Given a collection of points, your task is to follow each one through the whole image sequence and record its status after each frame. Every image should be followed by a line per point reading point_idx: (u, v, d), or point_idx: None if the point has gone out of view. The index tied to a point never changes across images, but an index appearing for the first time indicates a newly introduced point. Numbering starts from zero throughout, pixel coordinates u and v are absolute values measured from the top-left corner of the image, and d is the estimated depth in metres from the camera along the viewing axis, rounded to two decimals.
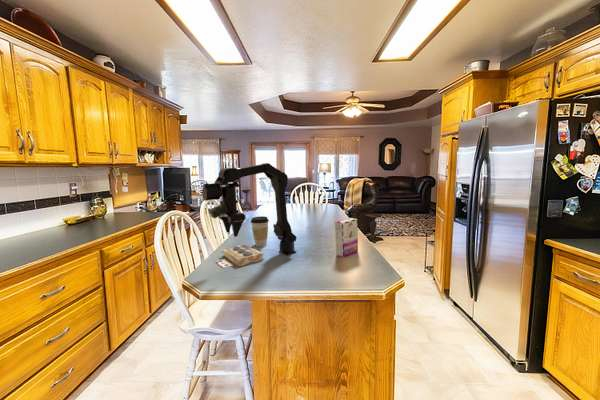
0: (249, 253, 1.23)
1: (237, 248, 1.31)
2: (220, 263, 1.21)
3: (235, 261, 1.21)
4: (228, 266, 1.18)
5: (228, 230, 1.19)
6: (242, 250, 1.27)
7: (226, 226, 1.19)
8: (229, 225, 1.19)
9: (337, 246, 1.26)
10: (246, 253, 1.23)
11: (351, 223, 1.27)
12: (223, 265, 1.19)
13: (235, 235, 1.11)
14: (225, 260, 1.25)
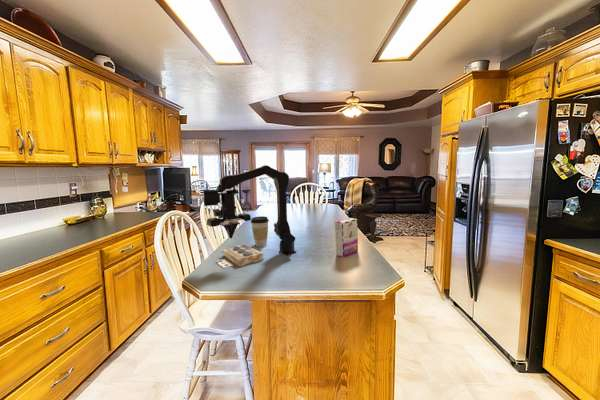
0: (249, 253, 1.23)
1: (237, 248, 1.31)
2: (220, 263, 1.21)
3: (235, 261, 1.21)
4: (228, 266, 1.18)
5: None
6: (242, 250, 1.27)
7: None
8: (231, 232, 1.22)
9: (337, 246, 1.26)
10: (246, 253, 1.23)
11: (351, 223, 1.27)
12: (223, 265, 1.19)
13: (229, 237, 1.22)
14: (225, 260, 1.25)
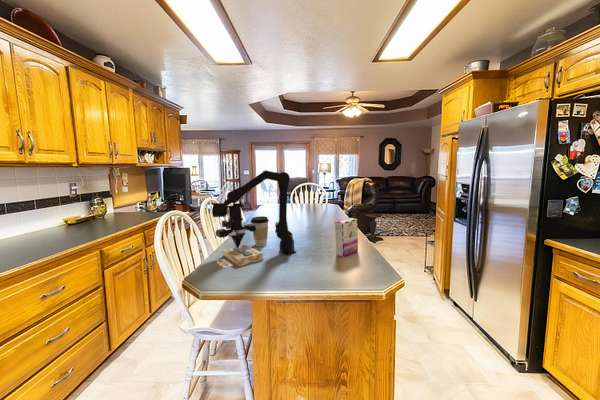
0: (249, 253, 1.23)
1: None
2: (220, 263, 1.21)
3: (235, 261, 1.21)
4: (228, 266, 1.18)
5: None
6: (242, 250, 1.27)
7: None
8: (238, 241, 1.32)
9: (337, 246, 1.26)
10: (246, 253, 1.23)
11: (351, 223, 1.27)
12: (223, 265, 1.19)
13: (236, 246, 1.32)
14: (225, 260, 1.25)
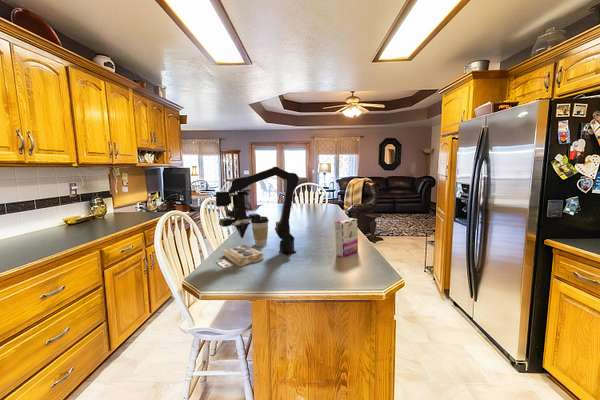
0: (249, 253, 1.23)
1: None
2: (220, 263, 1.21)
3: (235, 261, 1.21)
4: (228, 266, 1.18)
5: None
6: (242, 250, 1.27)
7: None
8: (242, 231, 1.27)
9: (337, 246, 1.26)
10: (246, 253, 1.23)
11: (351, 223, 1.27)
12: (223, 265, 1.19)
13: (240, 236, 1.27)
14: (225, 260, 1.25)
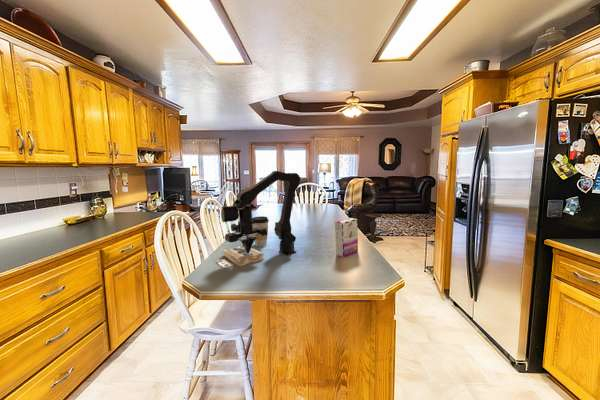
0: (249, 255, 1.23)
1: None
2: (220, 263, 1.21)
3: (235, 261, 1.21)
4: (228, 266, 1.18)
5: None
6: (242, 250, 1.27)
7: None
8: None
9: (337, 246, 1.26)
10: (246, 255, 1.23)
11: (351, 223, 1.27)
12: (223, 265, 1.19)
13: (246, 251, 1.24)
14: (225, 260, 1.25)
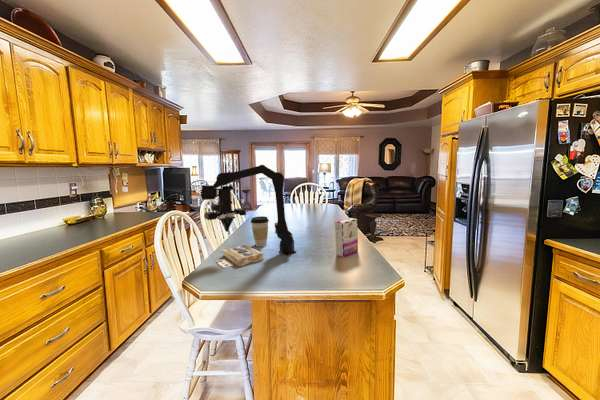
0: (249, 255, 1.23)
1: None
2: (220, 263, 1.21)
3: (235, 261, 1.21)
4: (228, 266, 1.18)
5: None
6: (242, 250, 1.27)
7: None
8: (227, 225, 1.29)
9: (337, 246, 1.26)
10: (246, 255, 1.23)
11: (351, 223, 1.27)
12: (223, 265, 1.19)
13: (225, 230, 1.30)
14: (225, 260, 1.25)
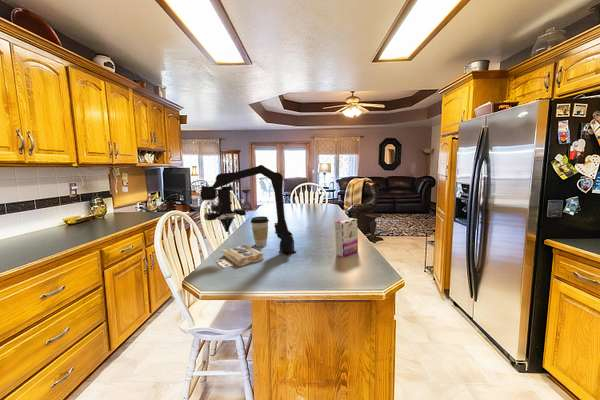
0: (249, 255, 1.23)
1: None
2: (220, 263, 1.21)
3: (235, 261, 1.21)
4: (228, 266, 1.18)
5: None
6: (242, 250, 1.27)
7: None
8: (227, 225, 1.30)
9: (337, 246, 1.26)
10: (246, 255, 1.23)
11: (351, 223, 1.27)
12: (223, 265, 1.19)
13: (225, 230, 1.30)
14: (225, 260, 1.25)
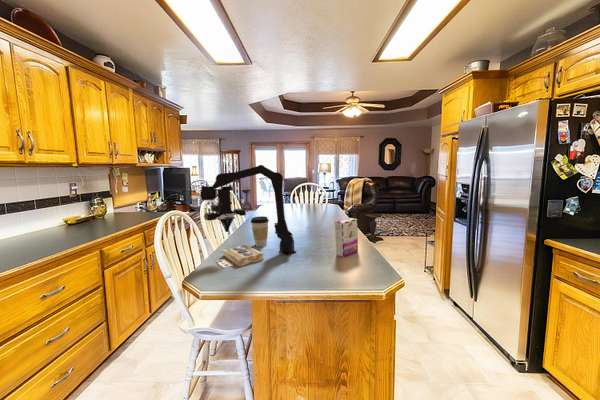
0: (249, 255, 1.23)
1: None
2: (220, 263, 1.21)
3: (235, 261, 1.21)
4: (228, 266, 1.18)
5: None
6: (242, 250, 1.27)
7: None
8: (227, 225, 1.30)
9: (337, 246, 1.26)
10: (246, 255, 1.23)
11: (351, 223, 1.27)
12: (223, 265, 1.19)
13: (225, 230, 1.30)
14: (225, 260, 1.25)
